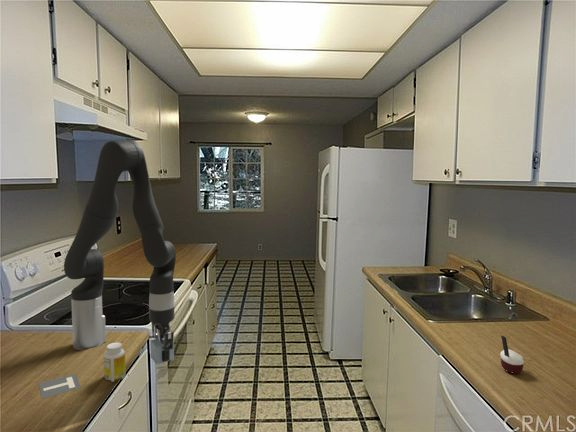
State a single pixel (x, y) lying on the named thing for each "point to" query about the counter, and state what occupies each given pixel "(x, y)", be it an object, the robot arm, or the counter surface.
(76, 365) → the counter surface
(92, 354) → the counter surface
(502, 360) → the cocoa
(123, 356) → the supplement bottle
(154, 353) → the blue block
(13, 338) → the counter surface
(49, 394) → the board
